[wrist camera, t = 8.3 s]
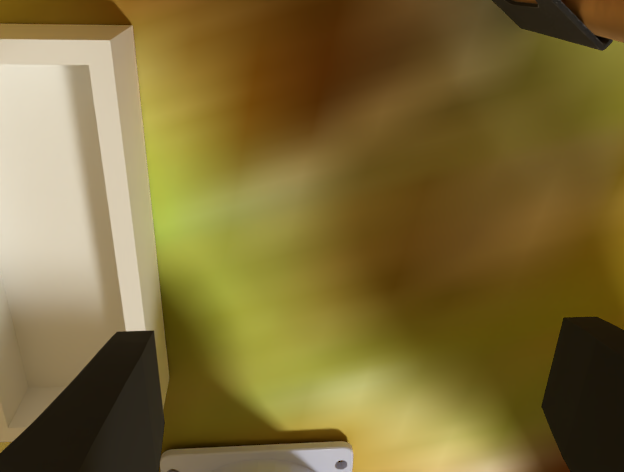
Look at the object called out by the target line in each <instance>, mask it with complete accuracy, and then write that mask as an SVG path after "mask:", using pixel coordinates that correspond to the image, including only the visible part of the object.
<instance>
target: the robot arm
mask: <svg viewBox="0 0 624 472" xmlns="http://www.w3.org/2000/svg"><path fill="white" fill-rule="evenodd" d="M542 409H543V411H544V414H545V416H546V419H547V421H548V424H549V426H550V429H551V431H552V434H553V436H554V439H555V441H556V443H557V445H558V448H559V450H560V452H561V454H562V457H563V459H564V460H565V462H566V464H567V466H568V468H569V469H570V471H571V472H624V330H622V329H620V328H618V327H616V326H614V325H612V324H611V323H609V322H606V321H604V320H602V319H600V318H598V317H573V318H563V322H562V326H561V330H560V334H559V338H558V342H557V346H556V350H555V354H554V358H553V362H552V366H551V370H550V374H549V378H548V382H547V386H546V390H545V394H544V398H543V402H542ZM164 424H165V422H164V413H163V405H162V396H161V387H160V379H159V370H158V361H157V352H156V344H155V335H154V330H152V331H119V332H116V333H115V334H114V335H113V336H112V337H111V338H110V339H109V340H108V341H107V342H106V344H105V345H104V346H103V347H102V348H101V349H100V350H99V351H98V353H97V354H96V355H95V356H94V357H93V358H92V359H91V360H90V362H89V363H88V364H87V365H86V366H85V367H84V368H83V369H82V371H81V372H80V373H79V374H78V375H77V376H76V377H75V378H74V379H73V381H72V382H71V383H70V384H69V385H68V386H67V387H66V388H65V389H64V390H63V391H62V392H61V393H60V394H59V395H58V397H57V398H56V399H55V400H54V401H53V402H52V403H51V404H50V405H49V406H48V407H47V408H46V409H45V410H44V411H43V412H42V413H41V414H40V415H39V416H38V417H37V418H36V419H35V420H34V422H33V423H32V424H31V425H29V426H28V427H27V428H26V429H25V430H24V431H23V432H22V433H21V434H20V435H19V436H18V437H17V438H16V439H15V440H14V441H13V442H12V443H11V444H10V445H9V446H8V447H6V448H5V449H4V450H3V451H2V452H1V453H0V472H159V466H160V470H161V472H352V466H353V451H352V446H351V445H350V444H349V443H347V442H345V441H334V442H313V443H292V444H271V445H250V446H230V447H209V448H188V449H171V450H167V451H165V452H164V453H163V454H162V455H161V450H162V441H163V432H164ZM160 458H161V460H160ZM341 460H343V462H338V461H341ZM170 469H176V470H175V471H174V470H170Z"/></svg>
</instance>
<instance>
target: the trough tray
mask: <svg viewBox="0 0 624 472" xmlns="http://www.w3.org/2000/svg"><path fill="white" fill-rule="evenodd" d="M152 330H154V335H155V344H156V352H157V361H158V370H159V379H160V387H161V396H162V405H163V408H164V403H165V398H166V393H167V388H168V383H169V378H170V377H169V368H168V358H167V349H166V339H165V330H164V320H163V311H162V301H161V291H160V282H159V272H158V263H157V253H156V244H155V234H154V225H153V215H152V206H151V196H150V187H149V177H148V168H147V158H146V149H145V139H144V130H143V120H142V111H141V101H140V91H139V82H138V72H137V63H136V53H135V44H134V34H133V25H73V24H0V442H13V441H14V440H15V439H16V438H17V437H18V436H19V435H20V434H21V433H22V432H23V431H24V430H25V429H26V428H27V427H28V426H29V425H31V424H32V423H33V422H34V420H35V419H36V418H37V417H38V416H39V415H40V414H41V413H42V412H43V411H44V410H45V409H46V408H47V407H48V406H49V405H50V404H51V403H52V402H53V401H54V400H55V399H56V398H57V397H58V395H59V394H60V393H61V392H62V391H63V390H64V389H65V388H66V387H67V386H68V385H69V384H70V383H71V382H72V381H73V379H74V378H75V377H76V376H77V375H78V374H79V373H80V372H81V371H82V369H83V368H84V367H85V366H86V365H87V364H88V363H89V362H90V360H91V359H92V358H93V357H94V356H95V355H96V354H97V353H98V351H99V350H100V349H101V348H102V347H103V346H104V345H105V344H106V342H107V341H108V340H109V339H110V338H111V337H112V336H113V335H114V334H115V333H116V332H119V331H152Z"/></svg>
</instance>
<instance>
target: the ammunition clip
mask: <svg viewBox="0 0 624 472" xmlns="http://www.w3.org/2000/svg"><path fill="white" fill-rule="evenodd" d="M492 1H493V2H494V3H495V4H496V5H497V6H498V7H499V8H501V9H502V10H503V11H504V12H505V13H506V14H507V15H508V16H509V17H510V18H511V19H512V20H513V21H514V22H515V23H516V24H517V25H518V26H519V27H520V28H522V29H526V30H529V31H533V32H537V33H540V34H544V35H548V36H551V37H555V38H558V39H562V40H566V41H569V42H573V43H576V44H580V45H584V46H587V47H591V48H594V49H598V50H602V51H603V50H604V49H606V48H607V47H608V46H609V45H610V44H611V43H612V41H613V40H616V41H620V42H624V0H492Z"/></svg>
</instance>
